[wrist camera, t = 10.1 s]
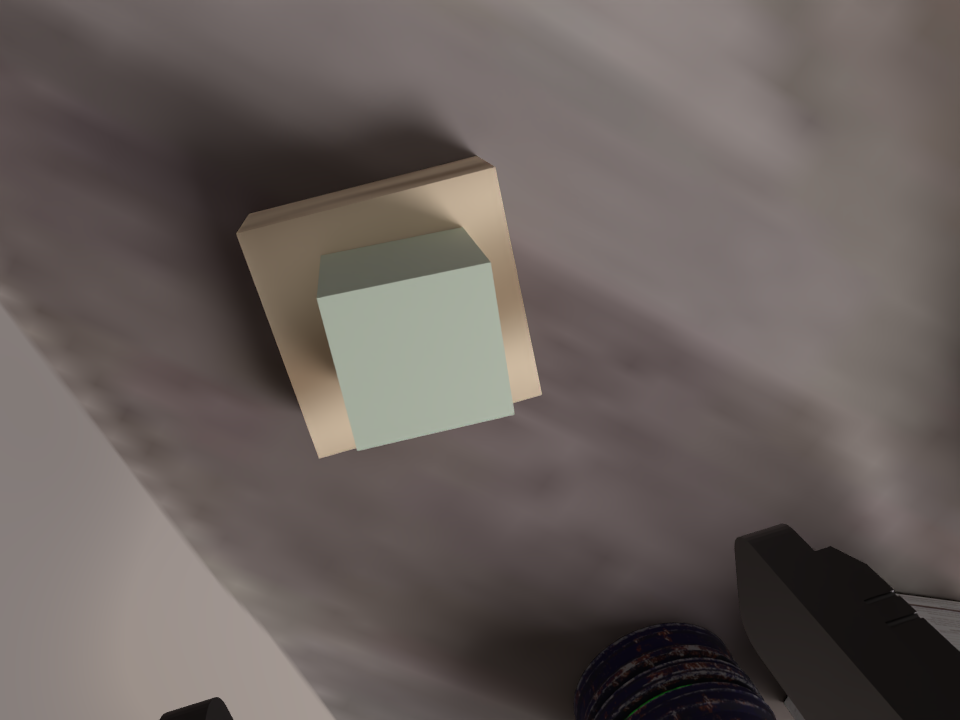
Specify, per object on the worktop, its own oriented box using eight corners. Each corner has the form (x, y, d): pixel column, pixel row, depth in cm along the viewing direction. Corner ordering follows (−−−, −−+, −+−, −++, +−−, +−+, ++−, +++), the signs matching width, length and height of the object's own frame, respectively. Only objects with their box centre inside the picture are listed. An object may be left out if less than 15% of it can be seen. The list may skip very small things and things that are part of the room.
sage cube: (320, 255, 24) (316, 298, 19) (462, 226, 25) (490, 262, 20) (354, 384, 26) (357, 451, 21) (484, 356, 27) (514, 414, 22)
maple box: (250, 212, 27) (235, 233, 23) (474, 154, 28) (495, 166, 24) (321, 412, 31) (319, 458, 27) (518, 357, 31) (541, 394, 28)
